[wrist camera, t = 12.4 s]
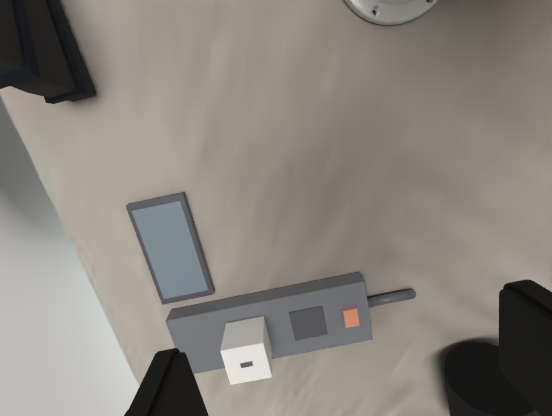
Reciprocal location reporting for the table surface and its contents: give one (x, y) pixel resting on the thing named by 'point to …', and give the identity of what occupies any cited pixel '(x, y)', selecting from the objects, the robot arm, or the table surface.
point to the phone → (171, 247)
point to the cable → (481, 384)
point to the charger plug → (247, 350)
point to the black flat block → (41, 52)
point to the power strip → (281, 318)
